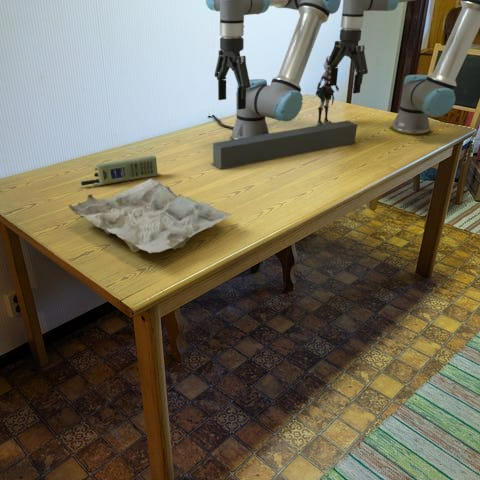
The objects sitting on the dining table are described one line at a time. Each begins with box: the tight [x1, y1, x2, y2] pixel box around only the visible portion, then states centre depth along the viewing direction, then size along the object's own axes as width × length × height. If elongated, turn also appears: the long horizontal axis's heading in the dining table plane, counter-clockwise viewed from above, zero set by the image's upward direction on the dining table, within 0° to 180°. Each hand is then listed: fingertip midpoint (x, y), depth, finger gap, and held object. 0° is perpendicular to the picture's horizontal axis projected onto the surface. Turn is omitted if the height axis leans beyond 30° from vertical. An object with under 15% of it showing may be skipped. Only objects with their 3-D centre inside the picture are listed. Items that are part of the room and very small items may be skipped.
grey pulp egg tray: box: [68, 178, 232, 254], centre depth 138 cm, size 38×6×30 cm
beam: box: [212, 120, 358, 170], centre depth 190 cm, size 61×6×8 cm, turn 119°
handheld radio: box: [80, 155, 159, 187], centre depth 164 cm, size 7×3×25 cm
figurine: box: [315, 55, 340, 126], centre depth 218 cm, size 15×6×30 cm, turn 132°
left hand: (231, 104), depth 171 cm, fingers open, 13 cm apart
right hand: (344, 89), depth 192 cm, fingers open, 13 cm apart
